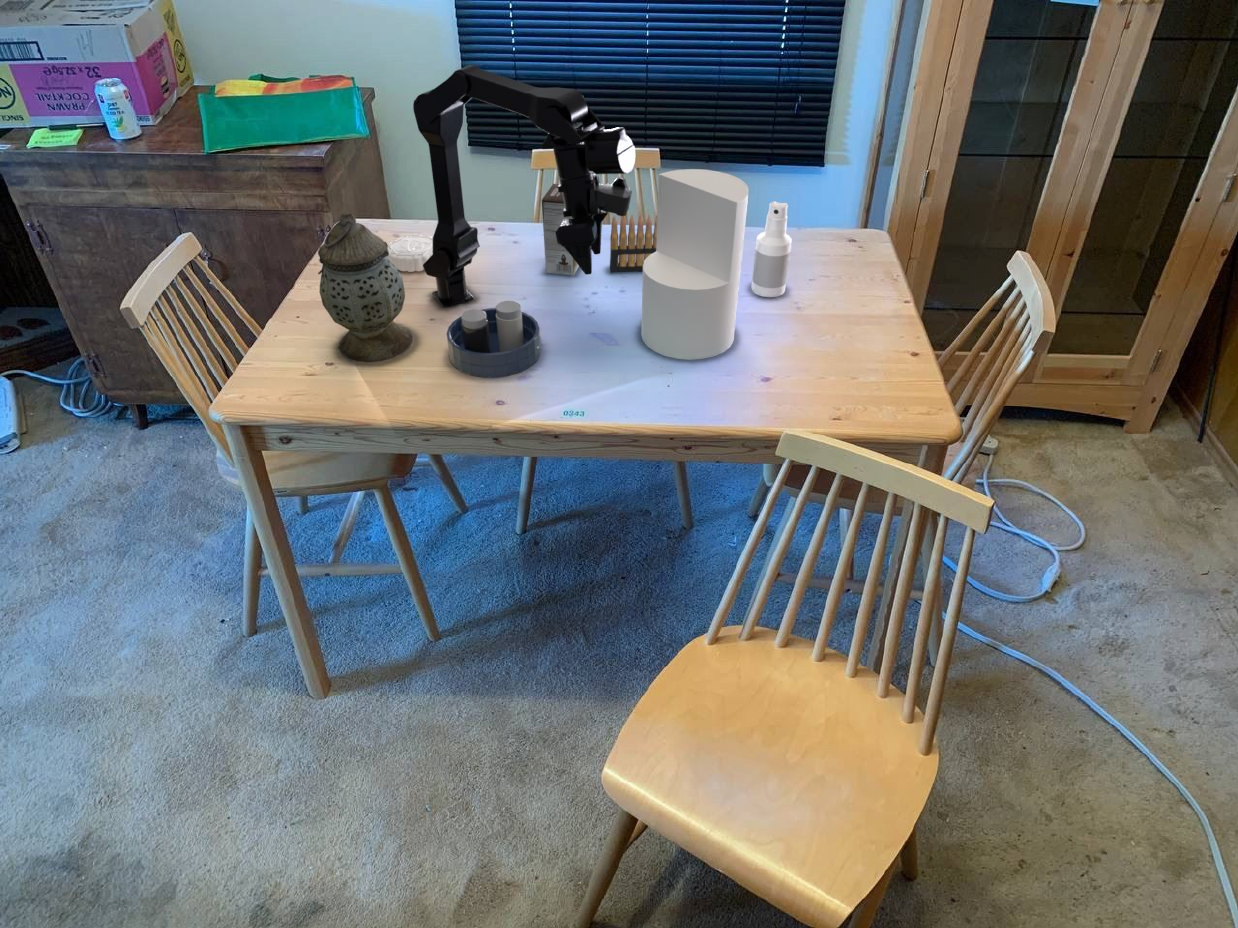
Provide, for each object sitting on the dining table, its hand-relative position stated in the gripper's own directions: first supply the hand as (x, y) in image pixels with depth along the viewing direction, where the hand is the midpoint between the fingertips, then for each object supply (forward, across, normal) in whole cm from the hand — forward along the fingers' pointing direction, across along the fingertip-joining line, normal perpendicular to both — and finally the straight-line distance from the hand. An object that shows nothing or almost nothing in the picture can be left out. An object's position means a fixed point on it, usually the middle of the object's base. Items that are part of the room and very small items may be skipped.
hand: (593, 263), depth 148 cm
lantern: (+8, -8, +42) cm, 43 cm away
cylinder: (+17, +4, -14) cm, 23 cm away
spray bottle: (+19, +24, -29) cm, 42 cm away
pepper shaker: (+11, -10, +21) cm, 26 cm away
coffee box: (+11, +29, +13) cm, 34 cm away
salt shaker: (+12, -6, +16) cm, 21 cm away
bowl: (+12, -8, +19) cm, 24 cm away
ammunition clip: (+14, +29, -2) cm, 32 cm away
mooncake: (+5, +27, +45) cm, 53 cm away
